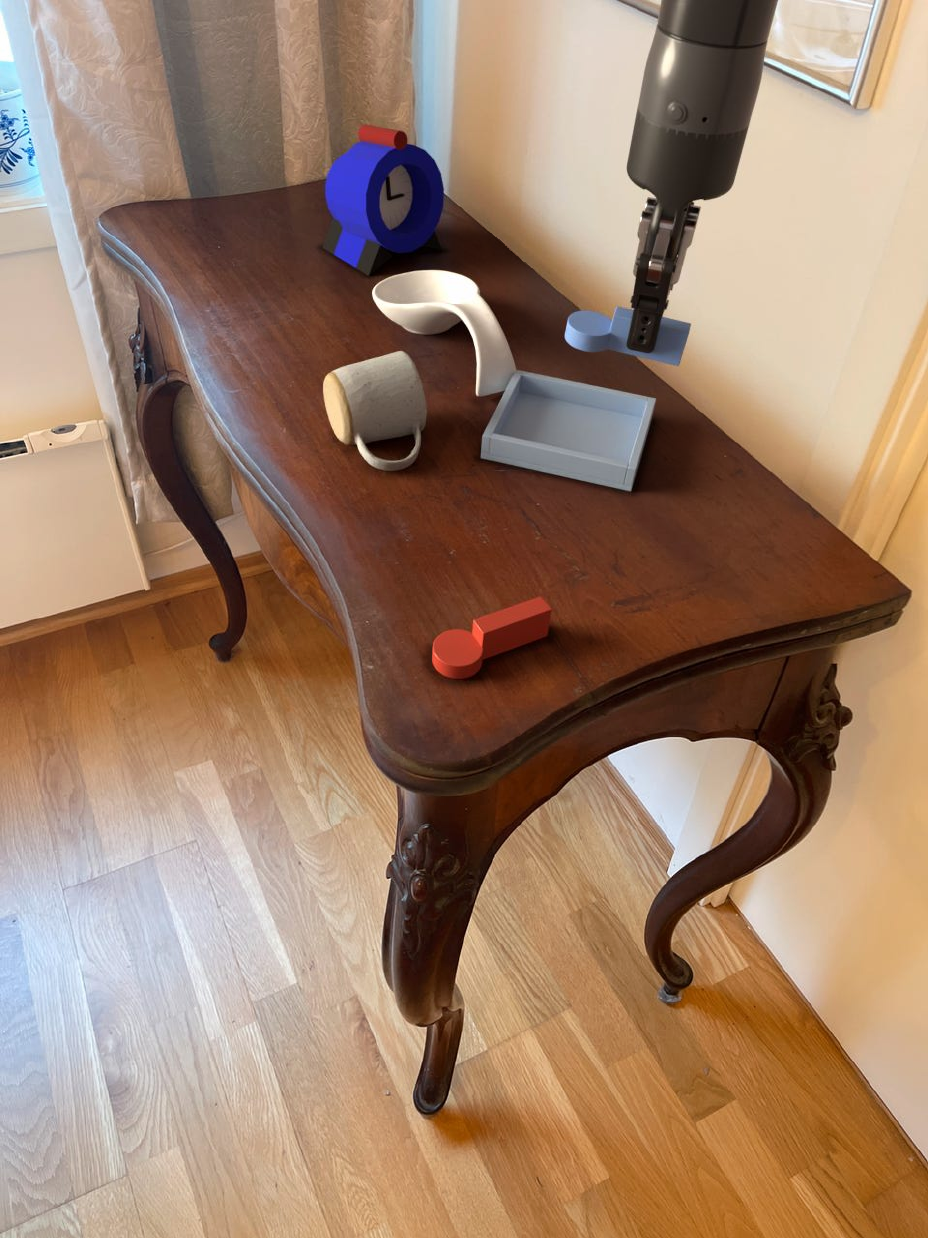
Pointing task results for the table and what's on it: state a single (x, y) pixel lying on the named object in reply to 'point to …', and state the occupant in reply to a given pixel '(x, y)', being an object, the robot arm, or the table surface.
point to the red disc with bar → (490, 638)
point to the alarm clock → (382, 199)
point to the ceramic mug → (377, 405)
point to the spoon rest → (449, 318)
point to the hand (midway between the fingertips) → (641, 342)
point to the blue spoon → (625, 335)
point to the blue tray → (569, 429)
